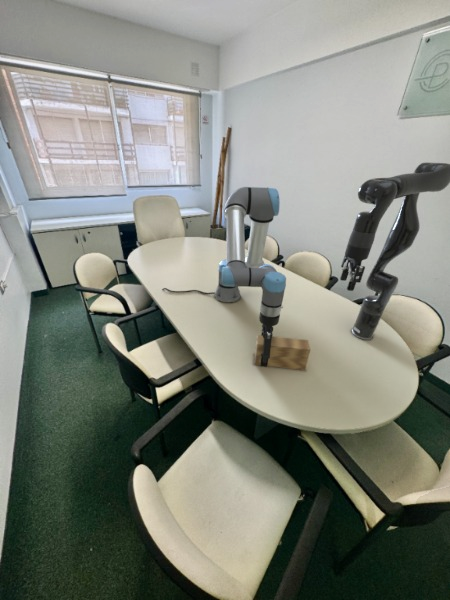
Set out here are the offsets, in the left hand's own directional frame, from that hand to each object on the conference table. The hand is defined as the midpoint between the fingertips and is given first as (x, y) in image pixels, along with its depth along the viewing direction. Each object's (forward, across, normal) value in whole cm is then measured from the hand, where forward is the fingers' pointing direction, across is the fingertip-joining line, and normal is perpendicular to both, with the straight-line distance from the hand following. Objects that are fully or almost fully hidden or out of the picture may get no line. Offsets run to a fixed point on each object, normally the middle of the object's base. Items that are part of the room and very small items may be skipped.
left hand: (263, 354), depth 102 cm
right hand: (-31, +10, -28) cm, 43 cm away
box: (+3, 0, -7) cm, 8 cm away
